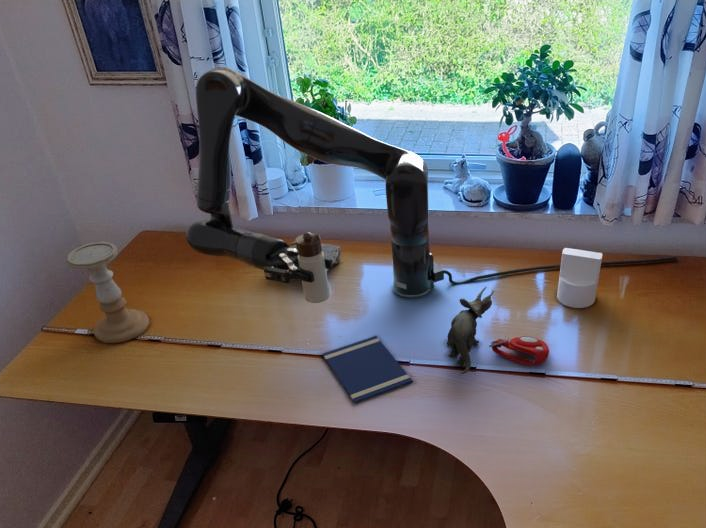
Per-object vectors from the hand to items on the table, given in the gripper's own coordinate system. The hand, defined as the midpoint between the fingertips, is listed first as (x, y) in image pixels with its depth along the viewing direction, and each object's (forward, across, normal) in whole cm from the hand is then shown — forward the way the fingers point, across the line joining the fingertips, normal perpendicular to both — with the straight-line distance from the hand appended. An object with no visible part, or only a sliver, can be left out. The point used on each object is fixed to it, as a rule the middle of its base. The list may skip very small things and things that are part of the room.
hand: (322, 271), depth 130 cm
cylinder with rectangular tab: (+41, +43, +18) cm, 62 cm away
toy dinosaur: (+28, +10, +18) cm, 35 cm away
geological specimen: (-25, +22, +18) cm, 38 cm away
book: (+13, -4, +18) cm, 22 cm away
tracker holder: (+38, +17, +18) cm, 46 cm away
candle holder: (-47, -21, +18) cm, 54 cm away
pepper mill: (-3, 0, +7) cm, 7 cm away
